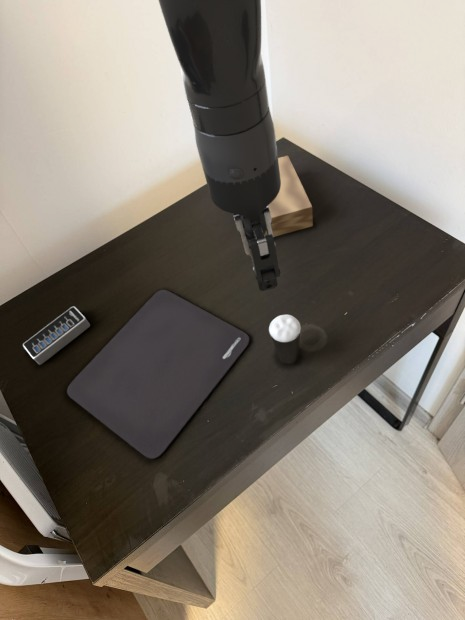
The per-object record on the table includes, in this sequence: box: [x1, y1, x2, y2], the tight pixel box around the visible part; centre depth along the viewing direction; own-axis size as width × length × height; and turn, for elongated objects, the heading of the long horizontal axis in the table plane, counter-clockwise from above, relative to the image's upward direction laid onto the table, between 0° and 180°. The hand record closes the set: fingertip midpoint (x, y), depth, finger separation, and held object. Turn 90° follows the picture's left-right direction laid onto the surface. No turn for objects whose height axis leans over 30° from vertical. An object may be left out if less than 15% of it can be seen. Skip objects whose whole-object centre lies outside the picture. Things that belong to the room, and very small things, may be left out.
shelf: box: [264, 155, 314, 238], centre depth 92 cm, size 12×16×8 cm
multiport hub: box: [22, 305, 91, 366], centre depth 84 cm, size 4×11×2 cm, turn 133°
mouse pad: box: [66, 289, 250, 460], centre depth 78 cm, size 25×21×1 cm
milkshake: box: [268, 314, 302, 365], centre depth 71 cm, size 4×5×10 cm
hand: (259, 261), depth 59 cm, fingers open, 8 cm apart
